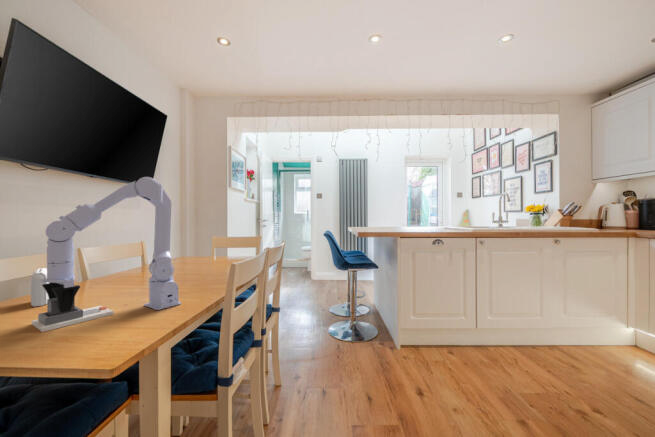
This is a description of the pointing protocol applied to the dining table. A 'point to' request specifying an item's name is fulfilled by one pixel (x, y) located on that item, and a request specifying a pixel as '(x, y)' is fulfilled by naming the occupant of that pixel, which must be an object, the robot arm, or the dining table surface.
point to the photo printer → (38, 288)
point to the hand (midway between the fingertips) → (61, 308)
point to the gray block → (56, 307)
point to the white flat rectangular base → (70, 317)
